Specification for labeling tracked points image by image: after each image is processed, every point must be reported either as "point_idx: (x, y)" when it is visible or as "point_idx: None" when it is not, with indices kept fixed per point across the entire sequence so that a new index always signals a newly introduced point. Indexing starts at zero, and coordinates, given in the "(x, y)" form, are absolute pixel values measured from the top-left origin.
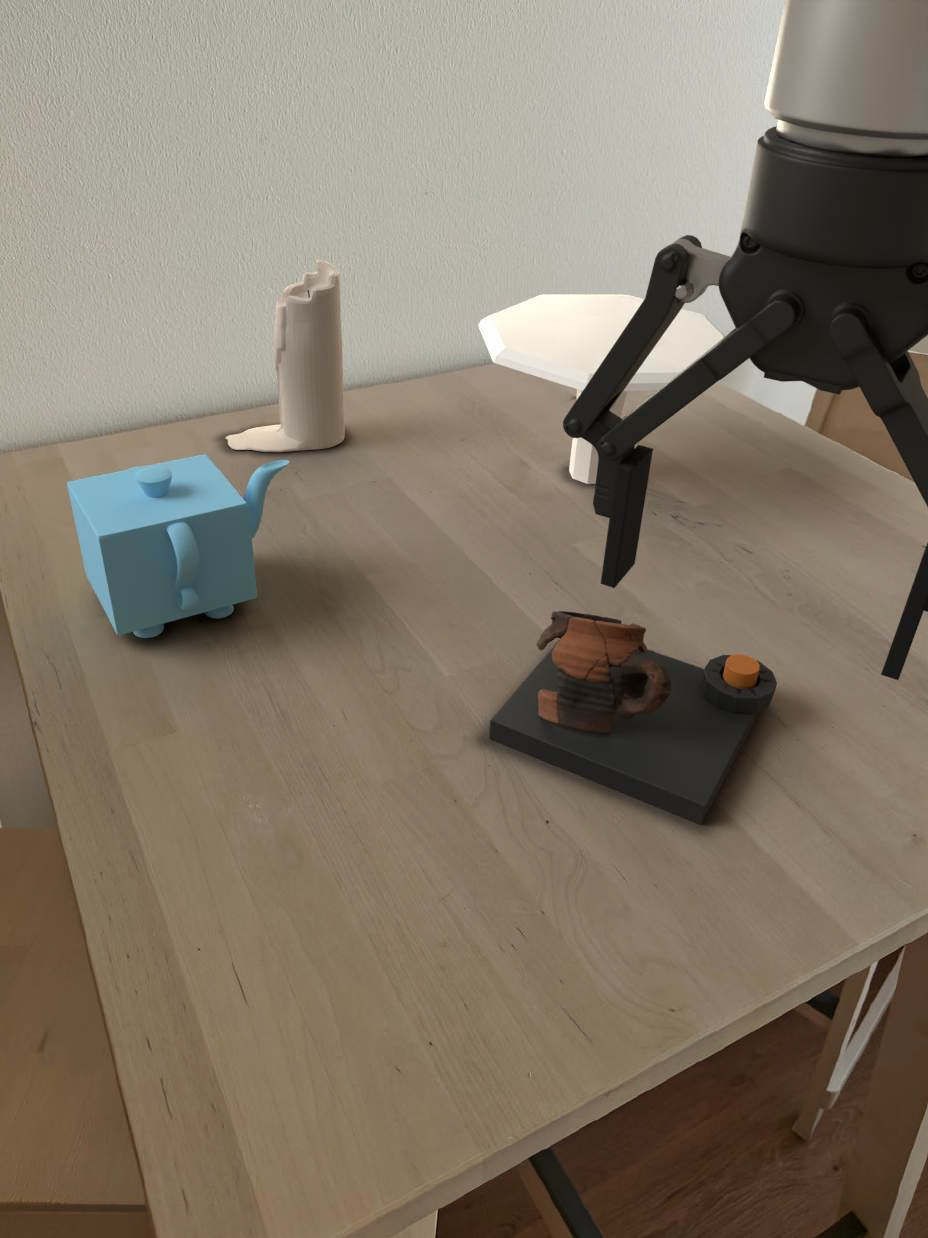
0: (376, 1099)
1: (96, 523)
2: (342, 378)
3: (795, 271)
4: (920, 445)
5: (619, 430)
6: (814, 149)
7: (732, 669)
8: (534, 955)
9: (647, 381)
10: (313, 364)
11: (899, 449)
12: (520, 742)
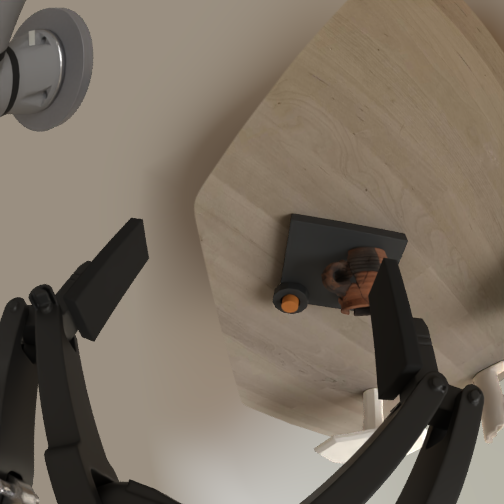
0: (388, 20)
1: None
2: None
3: None
4: (49, 400)
5: (431, 407)
6: None
7: (294, 302)
8: (350, 108)
9: (355, 435)
10: (491, 402)
11: (69, 400)
12: (390, 233)
